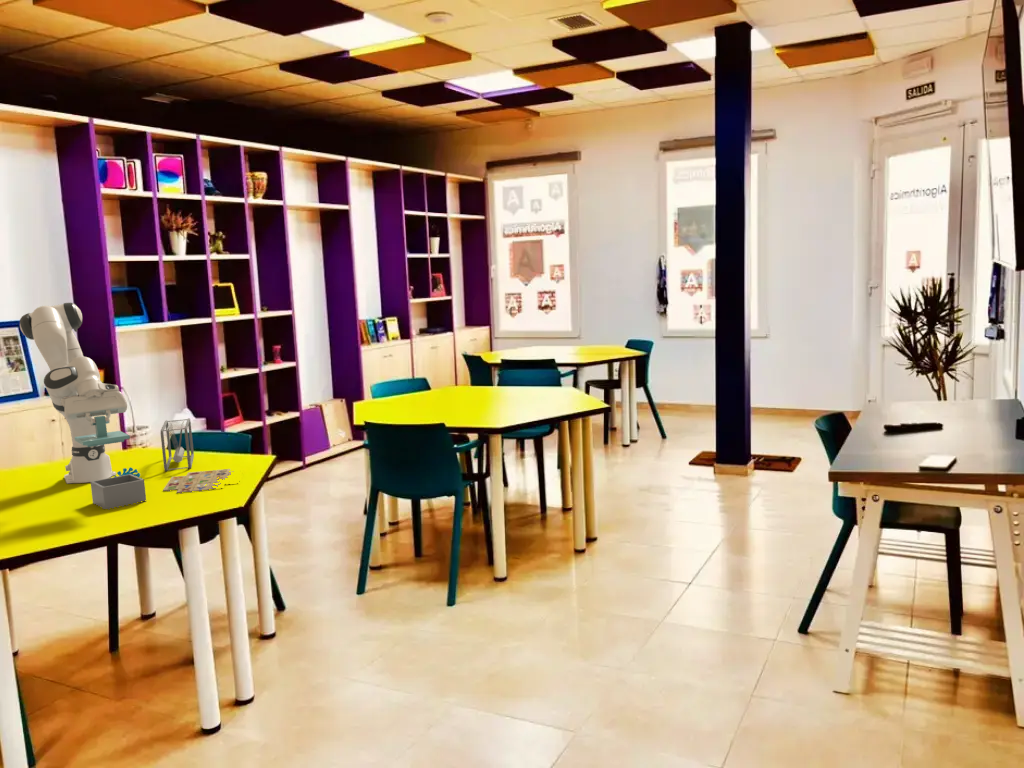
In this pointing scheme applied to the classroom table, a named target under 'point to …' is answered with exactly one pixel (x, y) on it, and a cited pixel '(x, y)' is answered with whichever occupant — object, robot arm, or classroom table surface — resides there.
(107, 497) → the grey open box
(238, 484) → the classroom table surface
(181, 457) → the newton's cradle
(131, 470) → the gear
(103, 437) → the lid
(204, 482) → the alphabet tiles
